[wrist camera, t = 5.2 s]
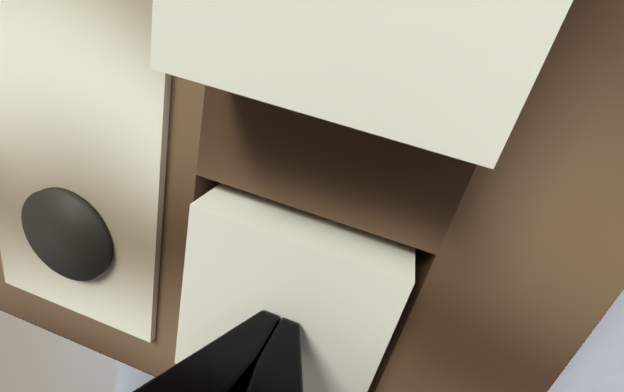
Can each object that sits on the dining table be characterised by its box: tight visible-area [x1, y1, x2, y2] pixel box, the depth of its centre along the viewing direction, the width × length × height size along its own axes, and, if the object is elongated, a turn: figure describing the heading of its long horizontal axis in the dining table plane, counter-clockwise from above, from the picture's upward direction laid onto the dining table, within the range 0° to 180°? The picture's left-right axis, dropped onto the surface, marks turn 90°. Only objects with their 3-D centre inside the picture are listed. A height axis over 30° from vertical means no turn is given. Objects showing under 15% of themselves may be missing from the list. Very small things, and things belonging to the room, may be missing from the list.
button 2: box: [175, 183, 415, 392], centre depth 9 cm, size 4×4×3 cm
